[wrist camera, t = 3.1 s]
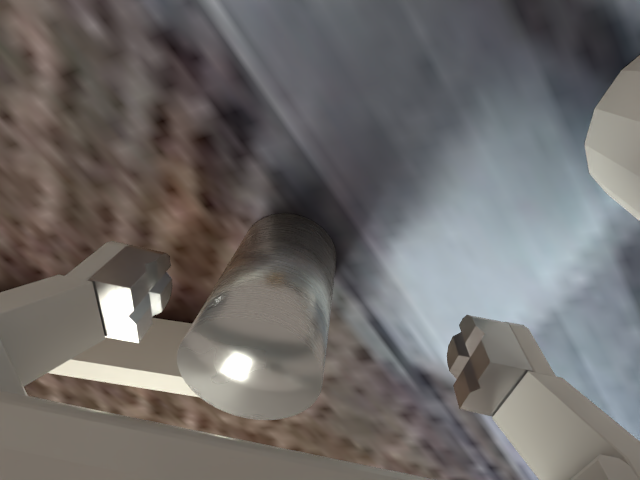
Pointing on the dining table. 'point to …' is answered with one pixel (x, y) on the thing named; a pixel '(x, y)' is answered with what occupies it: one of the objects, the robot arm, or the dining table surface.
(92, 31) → the dining table surface
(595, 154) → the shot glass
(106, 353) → the frame
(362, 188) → the dining table surface
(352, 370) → the dining table surface
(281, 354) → the steel part
